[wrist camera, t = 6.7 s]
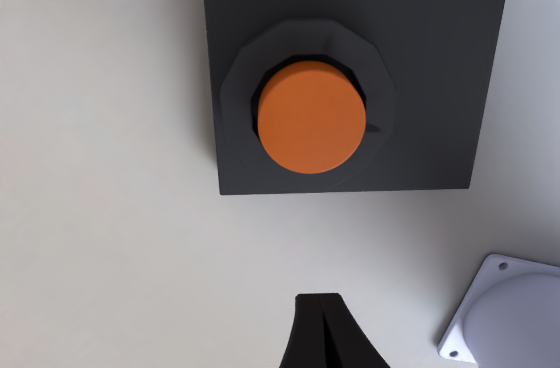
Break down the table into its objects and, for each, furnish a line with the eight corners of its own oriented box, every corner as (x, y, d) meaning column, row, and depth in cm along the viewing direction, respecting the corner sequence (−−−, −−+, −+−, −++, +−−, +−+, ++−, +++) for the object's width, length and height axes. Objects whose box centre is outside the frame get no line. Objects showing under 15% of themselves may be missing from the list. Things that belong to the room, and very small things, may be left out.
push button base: (484, -18, 19) (533, -14, 16) (452, 170, 23) (486, 207, 20) (209, -13, 19) (196, -9, 16) (223, 176, 23) (216, 214, 20)
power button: (359, 58, 17) (370, 68, 16) (354, 155, 19) (362, 173, 17) (256, 61, 17) (255, 71, 15) (259, 157, 19) (259, 175, 17)
